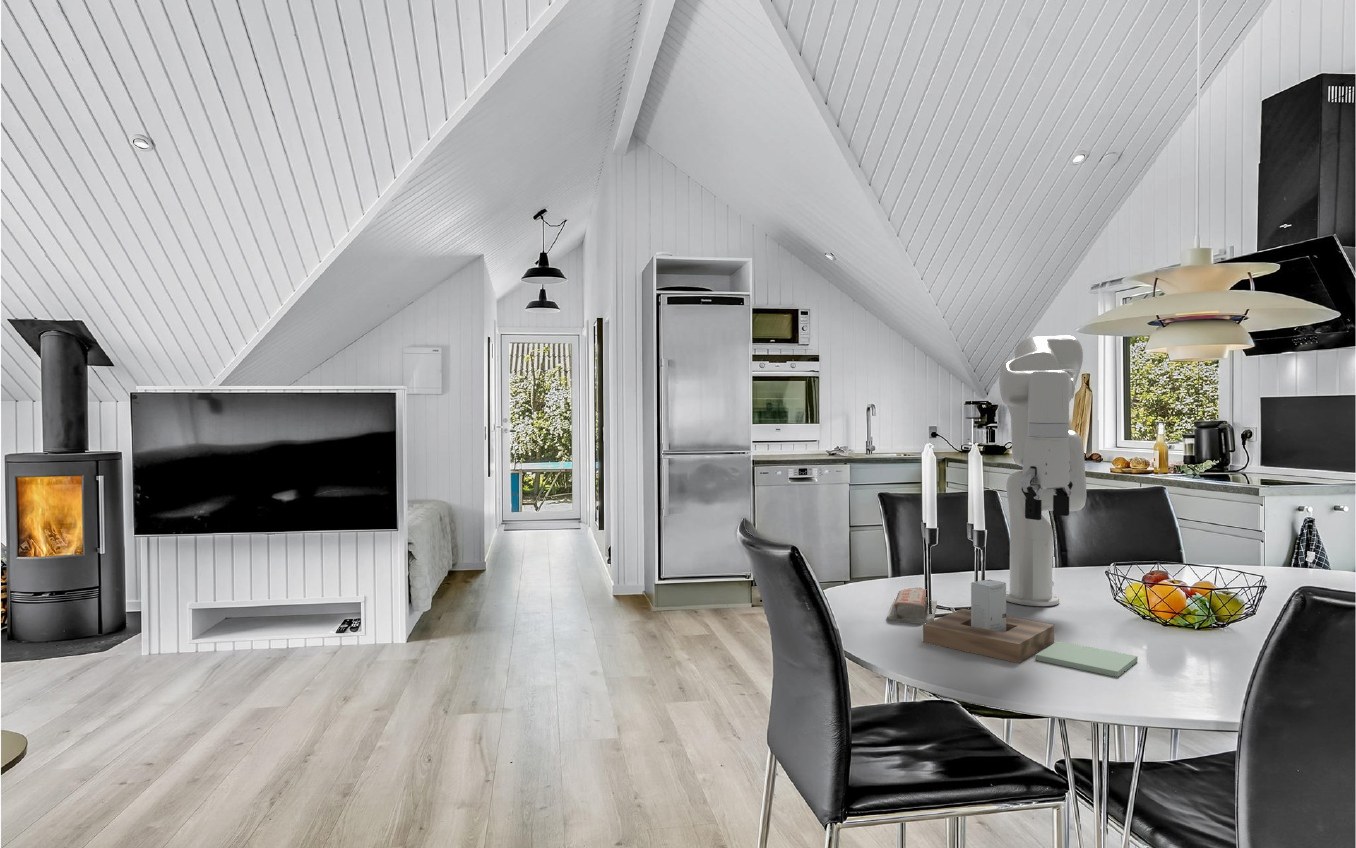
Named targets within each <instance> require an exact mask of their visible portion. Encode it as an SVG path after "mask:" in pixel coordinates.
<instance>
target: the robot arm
mask: <svg viewBox="0 0 1356 848" xmlns="http://www.w3.org/2000/svg"><path fill="white" fill-rule="evenodd" d="M1083 351H1084V350H1083V347H1082V345H1081V342H1080V341H1079V340H1078V339H1077V338H1076V337H1074V336H1071V335H1055V336H1054V335H1047V336H1046V335H1045V336H1039V335H1038V336H1032V337H1027V338H1024V339H1023V340H1021V341H1020V342H1019V343H1017V345H1016V346H1015V349H1014V358H1012V359H1011V360H1008V361H1006V362H1005V363H1003V364H1001V366H1000V368H999V379H998V382H999V383H998V385H999V386H998V387H999V392H1000V398H1001V400H1002V402H1003V403H1004V404H1005V405H1006V407H1007V409H1008V412H1009V414H1010V431H1011V452H1012V453H1011V455H1012V459H1013V462H1014V463H1015V464H1016V465H1017V466H1020V467H1022V470H1017V471H1015V472H1013V473H1011V474H1010V475H1009V476H1008V478H1007V480H1006V485H1005V486H1006V495H1007V502H1008V510H1009V512H1008V513H1009V590H1006V602H1009V603H1012V604H1016V605H1022V606H1029V607H1052V606H1057V605H1058V604H1059V603H1060V598H1059V596H1057V595H1056V594H1053V587H1054V586H1055V582H1054V581H1053V547H1054V546H1053V545H1054V544H1053V543H1054V541H1053V539H1054V533H1053V528H1052V525H1051V524H1050V522H1049V521H1048V519H1046V517H1044V516H1043V514H1042V512H1044V511H1045V512H1047V511H1052V514H1053V515H1055V516H1064V517H1068V516H1070V512H1077V511H1080V510H1082V509H1083V508H1085V505H1086V503H1087V479H1086V478H1087V477H1086V465H1085V464H1086V463H1085V452H1084V451H1085V450H1084V443H1083V440H1082V437H1081V436H1080V434H1079V433H1078V432H1076V431H1074V430H1072V429H1071V430H1070V403H1071V400H1072V399H1073V398H1075V397H1074V396H1075V391H1076V386H1077V382H1078V378H1079V375H1080V373H1081V369H1082V365H1083V360H1084V359H1083V358H1084V352H1083Z"/></svg>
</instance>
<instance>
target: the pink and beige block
mask: <svg viewBox="0 0 1356 848" xmlns="http://www.w3.org/2000/svg"><path fill="white" fill-rule="evenodd" d="M926 590H927V589H924V588H923V587H913V588H905V589H904V588H903V589H901V590H899V591H898V592H897V596H896V599H895V598H893V600H892V603H891V606H890V610H889V611H888V614H887V617H886V620H887V621H888V622H889V621H890V622H897V623H898V622H900V623H909V622H910V623H911V624H921V623H929V622H931V621H934V620H935V618H934V617H936V614H935V612H937V608H936V606H938V602H937V600H932V609H933V610H932V614H929V608H928V605H927V597H926Z"/></svg>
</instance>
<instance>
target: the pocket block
mask: <svg viewBox="0 0 1356 848" xmlns="http://www.w3.org/2000/svg"><path fill="white" fill-rule="evenodd" d="M924 642H926V643H925V644H929V643H930V644H929V645H934V646H938V645H939V646H938V647H943V648H947V647H949V648H948V649H953V650H958V651H961V650H962V651H963V652H966V653H970V652H972V654H976V655H980V654H981V655H980V656H984V657H985V656H986V657H989V658H994V659H999V660H1004V661H1007V662H1013V663H1017V664H1021V662H1024V661H1025V660H1027V659H1028V658H1030V657H1032V656H1033V655H1036V654H1037V653H1039V652H1041V651H1042V650H1044V649H1046V648H1047V647H1049V646H1051V645H1052V644H1054V643H1055V625H1054V624H1050V623H1046V622H1038V621H1034V620H1029V619H1023V618H1017V617H1013V616H1007V615H1006V632H1005V633H1002V632H997V631H992V630H987V629H982V628H977V627H971V609H967V608H959V609H958V610H956V611H953V612H950V613H949V614H946V615H943V616H941V617H939V618H937V619H934V621H931V622H929V623H926V624H922V643H924Z"/></svg>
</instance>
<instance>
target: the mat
mask: <svg viewBox="0 0 1356 848" xmlns="http://www.w3.org/2000/svg"><path fill="white" fill-rule="evenodd" d="M1034 655H1035V657H1034V658H1035V661H1039V662H1044V663H1049V664H1055V665H1059V666H1061V667H1062V666H1063V667H1066V668H1067V667H1068V668H1071V669H1077V670H1082V671H1087V672H1092V673H1094V674H1095V673H1097V674H1099V675H1100V674H1101V675H1106V676H1111V677H1114V676H1115V677H1114V678H1119V677H1120V676H1121V675H1123V674H1124V673H1125V672H1126V671H1127V669H1128V670H1129V669H1130V668H1132V667H1133V666H1134V665H1135V664H1137V662H1138V657H1139V656H1138V655H1134V654H1128V653H1122V652H1118V651H1113V650H1108V649H1103V648H1098V647H1097V648H1095V647H1091V646H1087V645H1083V644H1082V645H1081V644H1076V643H1070V642H1066V641H1065V642H1064V641H1060V640H1058V641H1056V642H1054V643H1052V644H1050V645H1049V646H1047V647H1045V648H1044V649H1042V650H1040V651H1039V652H1037V653H1035V654H1034ZM1132 665H1133V666H1132ZM1124 671H1125V672H1124ZM1118 676H1119V677H1118Z"/></svg>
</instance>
